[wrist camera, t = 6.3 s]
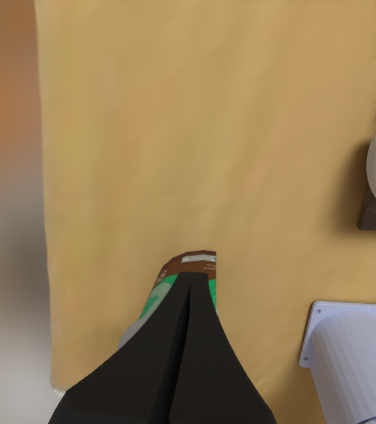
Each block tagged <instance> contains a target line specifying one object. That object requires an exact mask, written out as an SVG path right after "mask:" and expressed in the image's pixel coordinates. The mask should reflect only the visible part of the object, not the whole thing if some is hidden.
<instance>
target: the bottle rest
mask: <svg viewBox="0 0 376 424" xmlns="http://www.w3.org/2000/svg"><path fill="white" fill-rule="evenodd" d="M357 227H358V228H359V229H360V230H376V197H375V196H374V194H373V193H372V190H371V188H370V185H369V186H368V190H367V193H366V197H365V200H364V203H363V207H362V210H361V214H360V217H359V220H358V224H357Z"/></svg>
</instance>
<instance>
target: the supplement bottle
mask: <svg viewBox="0 0 376 424" xmlns="http://www.w3.org/2000/svg"><path fill="white" fill-rule="evenodd" d="M366 171H367V178H368V182H369V185H370V188H371V190H372V193H373V194H374V196H375V197H376V133H375V135H374V137H373V139H372V141H371V144H370V147H369V150H368V155H367V164H366Z"/></svg>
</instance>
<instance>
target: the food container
mask: <svg viewBox="0 0 376 424" xmlns="http://www.w3.org/2000/svg"><path fill="white" fill-rule="evenodd" d="M181 271H182V272H204V273H207V274H208V281H209V288H210V293H211V297H212V300H213V303H214V307H215V310H216V252H214V251H206V250H201V251H192V252H186V253H183V254H181V255H178V256H176V257H173V258H172V259H171V260H170V261H169V262H167V263H166V264H165V265H164V266H163V267H162V269H161V271H160V273H159V275H158V277H157V280H156V282H155V284H154V286H153V289H152V291H151V293H150V296H149V298H148V300H147V302H146V305H145V307H144V309H143V311H142V314H141V316H140V318H139V320H138V321H136V322H135V323H134V324H133V325H131V326H130V327H129V328H128V329H127V330H126V331H125V333H124V334H123V335H122V337H121V339H120V342H119V344H118V350H119V349H120V348H121V347H122V346H123V345H124V344H125V343H126V342H127V341H128V340H129V339H130V338H131V337H132V336H133V335H134V334H135V333H136V332H137V331H138V330H139V329H140V328H141V326H142V325H143V324H144V323H145V322H146V321H147V319H148V318H149V317H150V316H151V314H152V313H153V312H154V311H155V309H156V308H157V307H158V305H159V304H160V303H161V301H162V300H163V298H164V297H165V295H166V294H167V292H168V291H169V289H170V288H171V286H172V284H173V283H174V281H175V279H176V277H177V275H178V273H179V272H181ZM216 313H217V315H218V310H216ZM118 350H117V351H118Z"/></svg>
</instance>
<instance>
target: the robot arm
mask: <svg viewBox="0 0 376 424" xmlns="http://www.w3.org/2000/svg"><path fill="white" fill-rule="evenodd" d="M299 365H300V366H301V367H305V368H310V371H311V375H312V378H313V381H314V385H315V388H316V391H317V395H318V398H319V401H320V405H321V408H322V411H323V415H324V418H325V421H326V424H376V304H362V303H344V302H326V301H316V302H314V303H313V305H312V309H311V313H310V317H309V321H308V325H307V329H306V334H305V338H304V342H303V346H302V350H301V354H300V358H299ZM48 424H277V423H276V421H275V418H274V416H273V413H272V411H271V410H270V408H269V407H268V405H267V404H266V403H265V401H264V400H263V398H262V397H261V396H260V394H259V393H258V391H257V390H256V388H255V387H254V385H253V384H252V382H251V380H250V379H249V377H248V376H247V374H246V372H245V371H244V369H243V367H242V365H241V364H240V362H239V360H238V359H237V357H236V355H235V353H234V351H233V349H232V347H231V345H230V343H229V341H228V339H227V337H226V335H225V333H224V330H223V328H222V326H221V323H220V321H219V318H218V315H217V313H216V310H215V307H214V303H213V300H212V297H211V293H210V288H209V281H208V274H207V273H204V272H182V271H181V272H179V273H178V275H177V277H176V279H175V281H174V283H173V284H172V286H171V288H170V289H169V291H168V292H167V294H166V295H165V297H164V298H163V300H162V301H161V303H160V304H159V305H158V307H157V308H156V309H155V311H154V312H153V313H152V314H151V316H150V317H149V318H148V319H147V321H146V322H145V323H144V324H143V325H142V326H141V328H140V329H139V330H138V331H137V332H136V333H135V334H134V335H133V336H132V337H131V338H130V339H129V340H128V341H127V342H126V343H125V344H124V345H123V346H122V347H121V348H120V349H119V350H118V351H117V352H116V353H115V354H113V355H112V356H111V357H110V358H109V359H108V360H106V361H105V362H104V363H103V364H102V365H100V366H99V367H98V368H97V369H96V370H94V371H93V372H92V373H90V374H89V375H88V376H86V377H85V378H84V379H82V380H81V381H80V382H78V383H77V384H76V385H74V386H73V387H71V388H70V389H69V390H67V391H66V393H65V394H64V396H63V398H62V399H61V401H60V402H59V404H58V406H57V408H56V409H55V411H54V413H53V415H52V417H51V419H50V421H49V423H48Z"/></svg>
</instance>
